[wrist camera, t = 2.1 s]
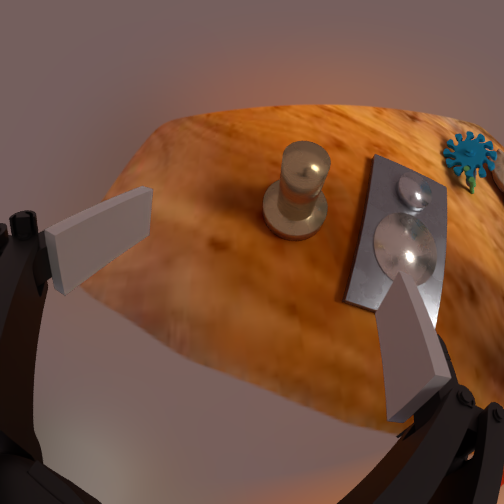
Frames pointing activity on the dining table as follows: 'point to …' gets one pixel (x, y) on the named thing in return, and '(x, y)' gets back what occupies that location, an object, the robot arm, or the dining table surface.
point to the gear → (470, 157)
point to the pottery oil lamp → (499, 170)
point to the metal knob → (298, 193)
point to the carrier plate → (399, 237)
